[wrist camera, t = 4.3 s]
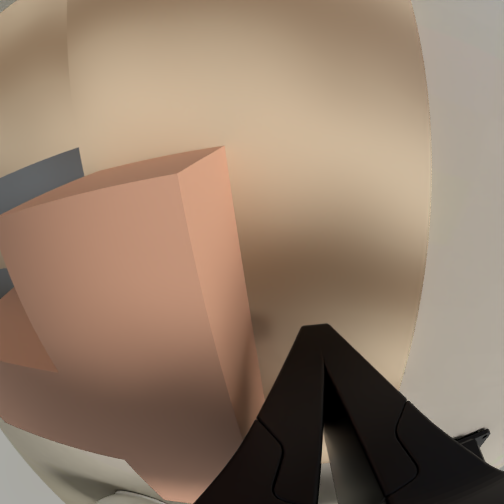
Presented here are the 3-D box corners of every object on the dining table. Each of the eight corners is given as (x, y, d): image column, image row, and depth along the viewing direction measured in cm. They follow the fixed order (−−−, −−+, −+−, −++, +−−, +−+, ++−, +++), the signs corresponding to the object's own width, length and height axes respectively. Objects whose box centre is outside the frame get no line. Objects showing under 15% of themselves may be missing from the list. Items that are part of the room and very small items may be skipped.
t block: (267, 418, 11) (265, 506, 7) (81, 405, 12) (50, 468, 8) (224, 145, 7) (177, 173, 3) (-13, 207, 8) (-91, 252, 4)
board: (372, 437, 13) (375, 454, 12) (59, 425, 15) (53, 438, 14) (371, -64, 5) (382, -81, 4) (-66, 94, 7) (-82, 97, 6)
